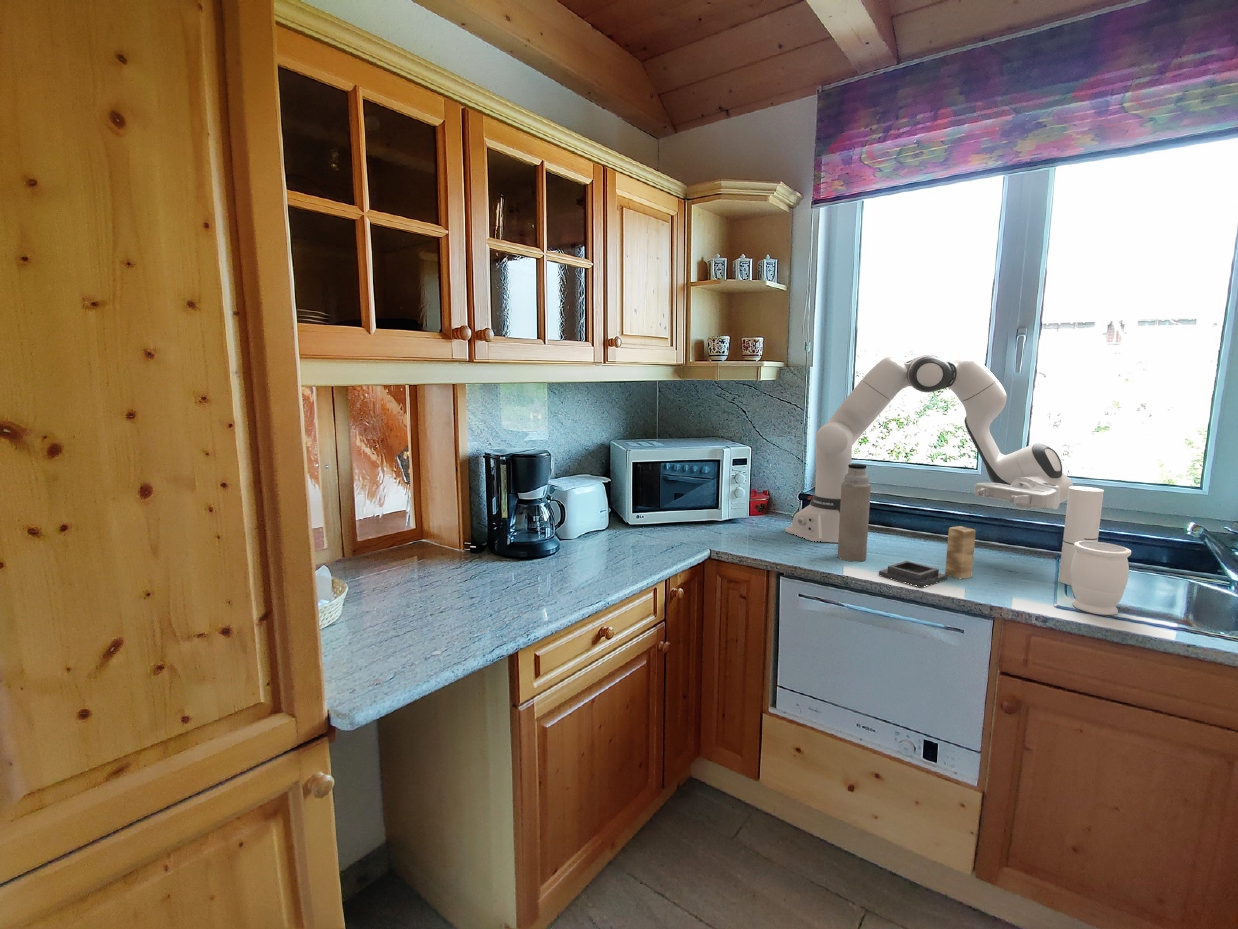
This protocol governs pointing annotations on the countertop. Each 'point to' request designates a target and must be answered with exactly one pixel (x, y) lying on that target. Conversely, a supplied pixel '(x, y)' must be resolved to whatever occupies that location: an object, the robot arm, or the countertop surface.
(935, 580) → the dark rectangular socket base
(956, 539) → the oak wick peg
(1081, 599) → the jar
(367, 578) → the countertop surface
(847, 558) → the thermos bottle
